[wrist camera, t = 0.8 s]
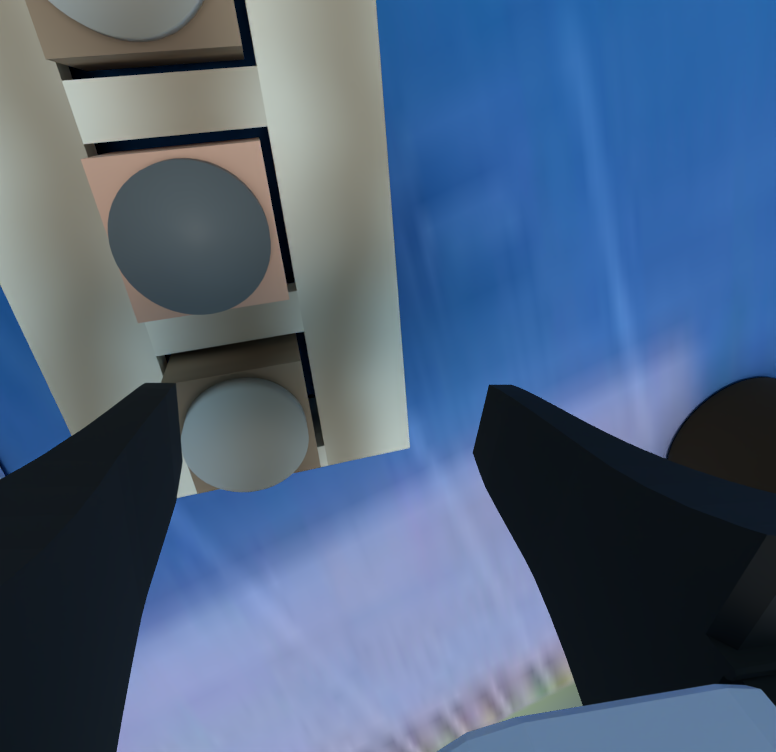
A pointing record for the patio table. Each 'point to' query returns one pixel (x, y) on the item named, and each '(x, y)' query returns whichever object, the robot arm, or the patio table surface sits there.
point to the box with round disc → (243, 414)
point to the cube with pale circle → (136, 32)
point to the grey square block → (297, 196)
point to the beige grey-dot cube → (190, 227)
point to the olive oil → (733, 435)
